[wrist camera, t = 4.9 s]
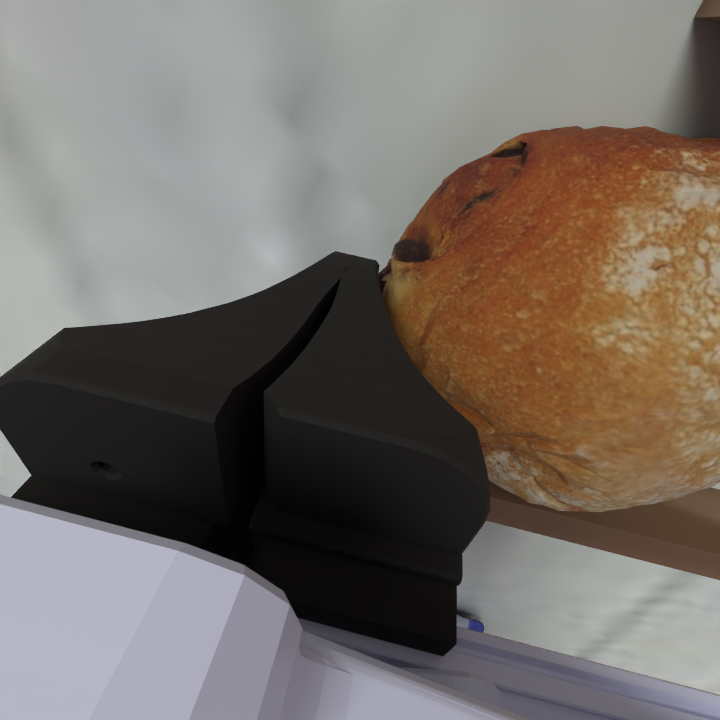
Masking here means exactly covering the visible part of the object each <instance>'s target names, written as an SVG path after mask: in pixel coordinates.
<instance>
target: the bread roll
mask: <svg viewBox="0 0 720 720" xmlns="http://www.w3.org/2000/svg"><path fill="white" fill-rule="evenodd" d="M378 275H379V283H380V288H381V292H382V296H383V300H384V303H385V307H386V310H387V312H388V315H389V318H390V320H391V323H392V325H393V327H394V330H395V332H396V334H397V336H398V338H399V339H400V341H401V343H402V345H403V347H404V348H405V350H406V352H407V353H408V355H409V357H410V358H411V360H412V361H413V362H414V364H415V365H416V366H417V368H418V369H419V370H420V372H421V373H422V375H423V376H424V377H425V378H426V380H427V381H428V382H429V383H430V384H431V385H432V386H433V387H434V388H435V389H436V391H437V392H438V393H439V394H440V395H441V396H442V397H443V398H444V399H445V400H446V401H447V402H448V403H449V404H450V405H452V406H453V407H454V408H455V409H456V410H457V411H458V412H459V413H460V414H461V415H463V416H464V417H465V418H466V419H467V420H468V421H469V422H470V423H471V424H472V425H474V426H475V427H476V429H477V432H478V435H479V439H480V443H481V447H482V450H483V454H484V459H485V463H486V468H487V473H488V479H489V480H490V481H491V482H493V483H494V484H496V485H498V486H499V487H501V488H503V489H504V490H506V491H508V492H510V493H513V494H515V495H517V496H519V497H521V498H523V499H524V500H526V501H527V502H528V503H533V504H539V505H544V506H547V507H550V508H553V509H556V510H558V511H586V512H604V511H608V510H615V509H625V508H629V507H632V506H639V505H649V504H655V503H658V502H662V501H666V500H671V499H676V498H679V497H681V496H684V495H687V494H689V493H692V492H695V491H699V490H702V489H706V488H710V487H713V486H714V485H716V484H717V483H719V482H720V139H717V138H714V137H703V138H684V137H681V136H679V135H674V134H667V133H664V132H660V131H659V130H657V129H654V128H650V127H646V126H645V127H637V128H629V129H623V128H614V127H606V126H600V127H595V128H590V129H582V128H580V127H578V126H573V127H564V128H555V129H552V130H540V131H535V132H530V133H524V134H520V135H519V136H517V137H515V138H513V139H511V140H509V141H507V142H505V143H503V144H502V145H501V146H499V147H498V148H497V149H496V150H494V151H493V152H492V153H490V154H488V155H486V156H484V157H482V158H479V159H477V160H475V161H473V162H470V163H468V164H466V165H464V166H461V167H460V168H458V169H457V170H456V171H455V172H453V173H452V174H451V175H449V176H448V177H447V178H445V179H444V180H443V182H442V184H441V185H440V186H439V188H438V189H437V190H436V191H435V192H434V193H433V194H432V195H431V197H430V198H429V199H428V201H427V202H426V203H425V205H424V206H423V207H422V208H421V210H420V211H419V213H418V214H417V216H416V217H415V219H414V220H413V221H412V222H411V223H410V224H409V225H408V227H407V228H406V230H405V232H404V233H403V235H402V237H401V238H400V240H399V242H398V243H396V244H395V246H394V249H393V253H392V257H391V259H389V262H388V265H387V266H386V267H385V268H384V269H383V270H382V271H381V272H380V273H379V274H378Z"/></svg>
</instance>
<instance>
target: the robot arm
mask: <svg viewBox="0 0 720 720" xmlns="http://www.w3.org/2000/svg"><path fill="white" fill-rule="evenodd" d="M378 271H379V264H378V263H377V261H376V260H371V259H367V258H363V257H358V256H354V255H349V254H345V253H341V252H336V251H335V252H333V253H331V254H330V255H328V256H326V257H325V258H323V259H322V260H320V261H318V262H317V263H315V264H313V265H312V266H310V267H308V268H306V269H305V270H303V271H301V272H299V273H298V274H296V275H294V276H292V277H290V278H288V279H286V280H284V281H282V282H280V283H278V284H276V285H274V286H272V287H270V288H268V289H265V290H263V291H260V292H258V293H255V294H253V295H250V296H247V297H245V298H242V299H239V300H236V301H233V302H230V303H227V304H223V305H219V306H215V307H211V308H207V309H203V310H200V311H196V312H192V313H187V314H182V315H177V316H172V317H166V318H160V319H153V320H147V321H140V322H131V323H122V324H110V325H99V326H87V327H74V328H64V329H62V330H61V331H60V332H58V333H57V334H56V335H54V336H53V337H52V338H51V339H49V340H48V341H47V342H45V343H44V344H43V345H42V346H40V347H39V348H38V349H36V350H35V351H34V352H32V353H31V354H30V355H29V356H27V357H26V358H25V359H23V360H22V361H21V362H19V363H18V364H17V365H16V366H14V367H13V368H12V369H10V370H9V371H8V372H6V373H5V374H4V375H3V376H1V377H0V430H1V431H2V432H3V434H4V435H5V437H6V438H7V440H8V441H9V443H10V444H11V446H12V447H13V449H14V450H15V452H16V453H17V455H18V456H19V457H20V459H21V460H22V462H23V463H24V465H25V466H26V468H27V469H28V471H29V472H30V474H31V475H32V476H31V477H30V478H29V479H28V480H27V481H26V482H25V483H24V484H23V485H22V486H21V487H20V488H19V489H18V491H17V492H16V493H15V494H14V495H13V496H12V497H11V498H10V497H7V496H3V495H0V720H720V695H718V694H714V693H710V692H707V691H703V690H699V689H695V688H691V687H688V686H684V685H680V684H676V683H672V682H668V681H665V680H661V679H657V678H653V677H649V676H646V675H642V674H638V673H634V672H630V671H627V670H623V669H619V668H615V667H611V666H608V665H604V664H600V663H596V662H592V661H589V660H585V659H581V658H577V657H573V656H569V655H566V654H562V653H558V652H554V651H550V650H547V649H543V648H539V647H535V646H531V645H528V644H524V643H520V642H516V641H512V640H509V639H505V638H501V637H497V636H493V635H490V634H486V633H482V632H478V631H474V630H470V629H467V628H463V627H459V626H457V585H458V586H459V584H460V583H461V581H462V576H463V575H462V553H463V552H464V550H465V549H466V548H467V546H468V545H469V544H470V542H471V541H472V539H473V538H474V537H475V535H476V534H477V533H478V531H479V530H480V529H481V527H482V526H483V524H484V523H485V521H486V519H487V516H488V514H489V512H490V486H489V479H488V473H487V468H486V463H485V459H484V454H483V450H482V447H481V443H480V439H479V435H478V432H477V429H476V427H475V426H474V425H472V424H471V423H470V422H469V421H468V420H467V419H466V418H465V417H464V416H463V415H461V414H460V413H459V412H458V411H457V410H456V409H455V408H454V407H453V406H452V405H450V404H449V403H448V402H447V401H446V400H445V399H444V398H443V397H442V396H441V395H440V394H439V393H438V392H437V391H436V389H435V388H434V387H433V386H432V385H431V384H430V383H429V382H428V381H427V380H426V378H425V377H424V376H423V375H422V373H421V372H420V370H419V369H418V368H417V366H416V365H415V364H414V362H413V361H412V360H411V358H410V357H409V355H408V353H407V352H406V350H405V348H404V347H403V345H402V343H401V341H400V339H399V338H398V336H397V334H396V332H395V330H394V327H393V325H392V323H391V320H390V318H389V315H388V312H387V310H386V307H385V303H384V300H383V296H382V292H381V288H380V283H379V275H378Z"/></svg>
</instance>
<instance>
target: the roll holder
mask: <svg viewBox="0 0 720 720" xmlns="http://www.w3.org/2000/svg"><path fill="white" fill-rule="evenodd" d="M695 18H700V19H705V20H710V21H715V22H719V23H720V0H704V1H703V2H702V4H701V6H700V8H699V10H698V12H697V14H696V15H695ZM489 486H490V512H489V514H488V516H487V519H486V521H490V522H494V523H498V524H502V525H506V526H510V527H514V528H518V529H522V530H526V531H530V532H533V533H537V534H541V535H545V536H549V537H553V538H557V539H561V540H565V541H569V542H573V543H577V544H580V545H584V546H588V547H592V548H596V549H600V550H604V551H608V552H612V553H616V554H620V555H624V556H627V557H631V558H635V559H639V560H643V561H647V562H651V563H655V564H659V565H663V566H667V567H671V568H674V569H678V570H682V571H686V572H690V573H694V574H698V575H702V576H706V577H710V578H714V579H718V580H720V490H717V489H713V488H706V489H702V490H699V491H695V492H692V493H689V494H687V495H684V496H681V497H679V498H676V499H671V500H666V501H662V502H658V503H655V504H649V505H639V506H632V507H629V508H625V509H615V510H608V511H604V512H586V511H558V510H556V509H553V508H550V507H547V506H544V505H539V504H533V503H528V502H527V501H526V500H524V499H523V498H521V497H519V496H517V495H515V494H513V493H510V492H508V491H506V490H504V489H503V488H501V487H499V486H498V485H496V484H494V483H493V482H491V481H490V480H489Z"/></svg>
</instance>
